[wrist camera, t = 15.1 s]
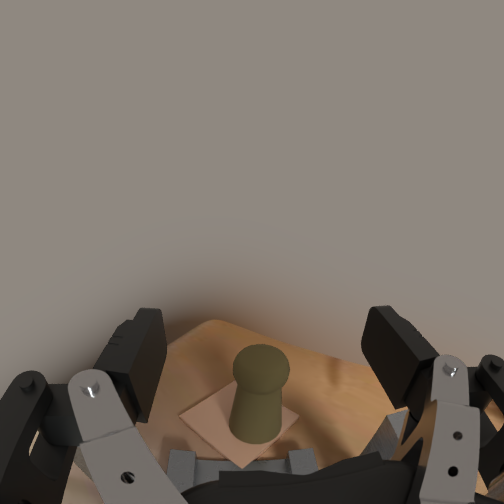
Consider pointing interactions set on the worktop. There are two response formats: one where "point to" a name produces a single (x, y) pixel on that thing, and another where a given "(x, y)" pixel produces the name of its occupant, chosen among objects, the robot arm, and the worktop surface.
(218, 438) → the tile
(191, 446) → the worktop surface
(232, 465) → the grey u-shaped stand
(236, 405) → the cork
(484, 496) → the robot arm
